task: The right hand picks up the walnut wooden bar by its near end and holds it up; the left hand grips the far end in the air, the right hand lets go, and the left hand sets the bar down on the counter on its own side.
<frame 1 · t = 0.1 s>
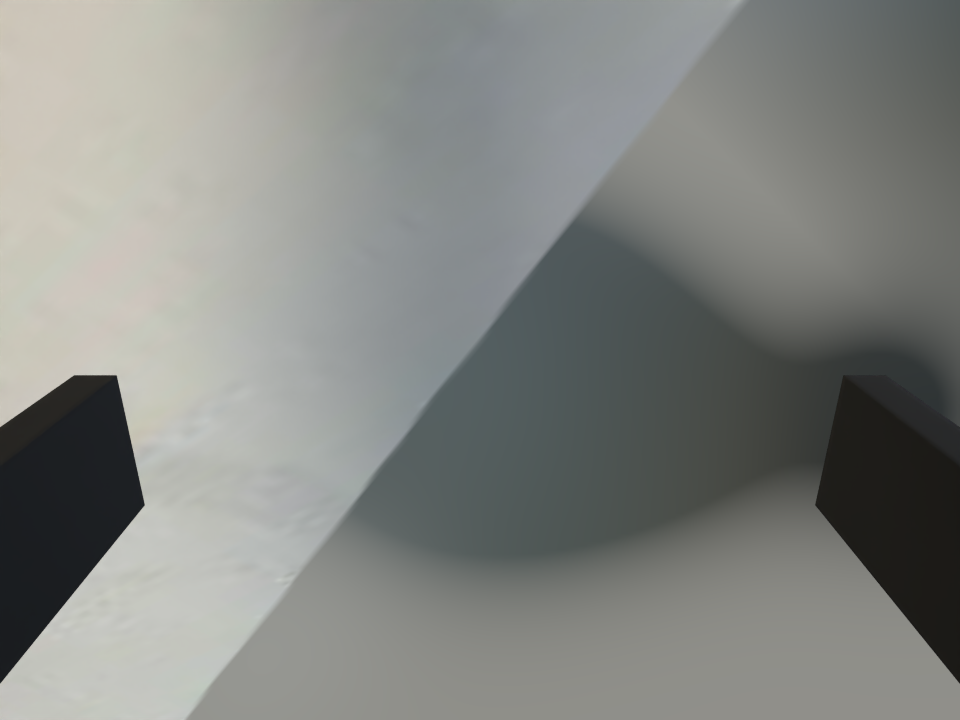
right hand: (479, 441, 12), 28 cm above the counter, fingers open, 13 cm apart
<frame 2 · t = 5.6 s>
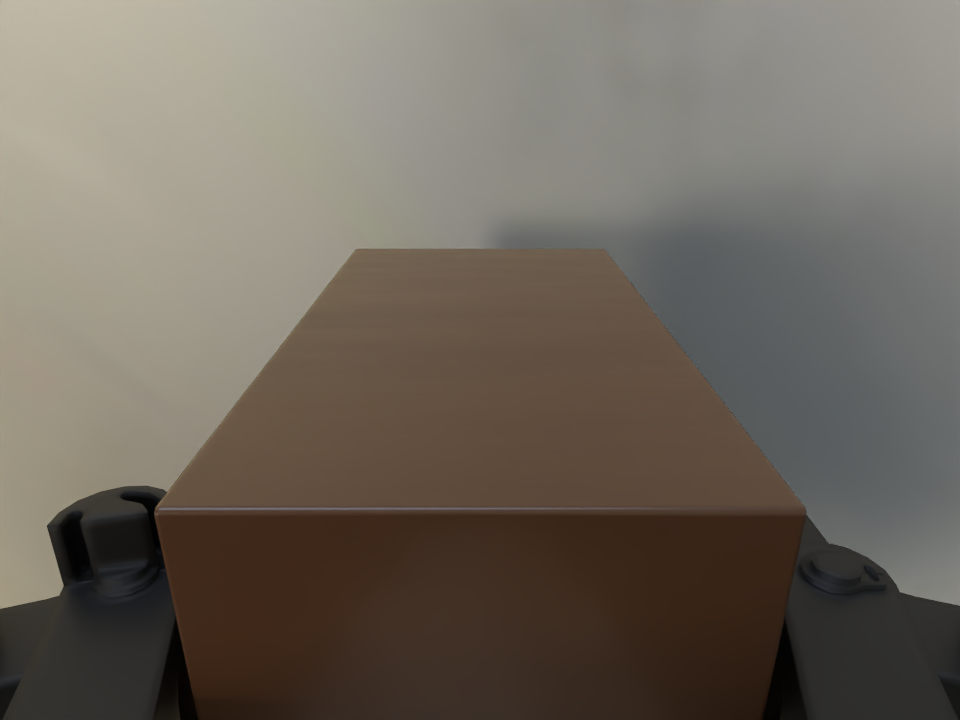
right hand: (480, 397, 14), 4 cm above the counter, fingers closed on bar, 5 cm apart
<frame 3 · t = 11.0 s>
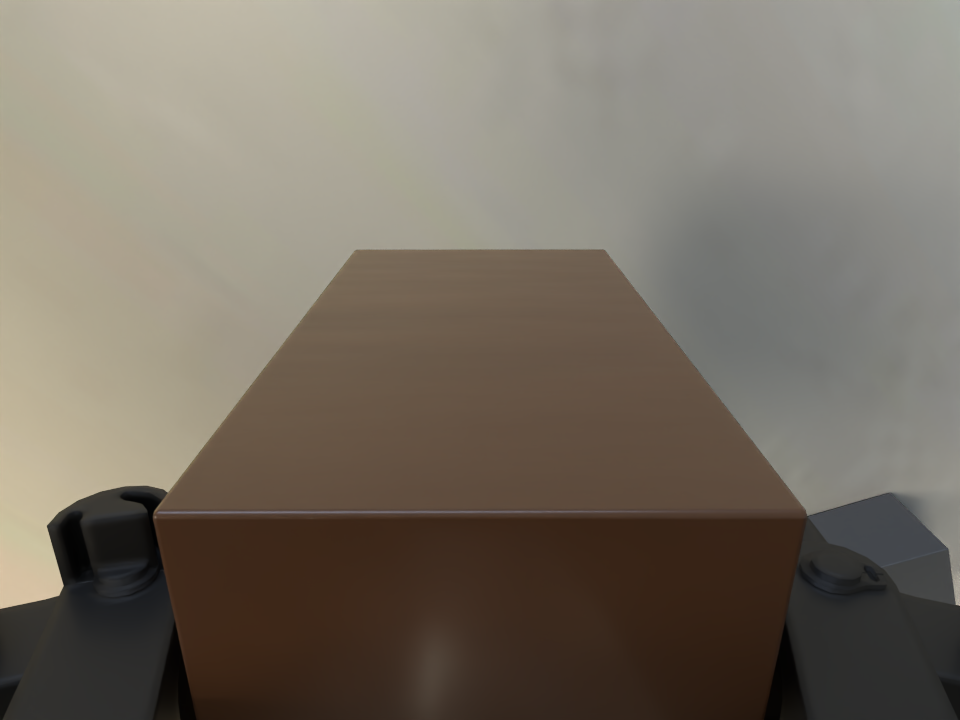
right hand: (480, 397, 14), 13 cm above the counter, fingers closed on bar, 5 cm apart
slate block: (852, 540, 31), on the counter
when the right hand's fingers open (13 cm above the counter, at t = 11.9 s): bar stays where it is, held by the left hand.
when the left hand's fingers open (1 cm above the counter, at t = 21.4 s): bar stays where it is, on the counter.
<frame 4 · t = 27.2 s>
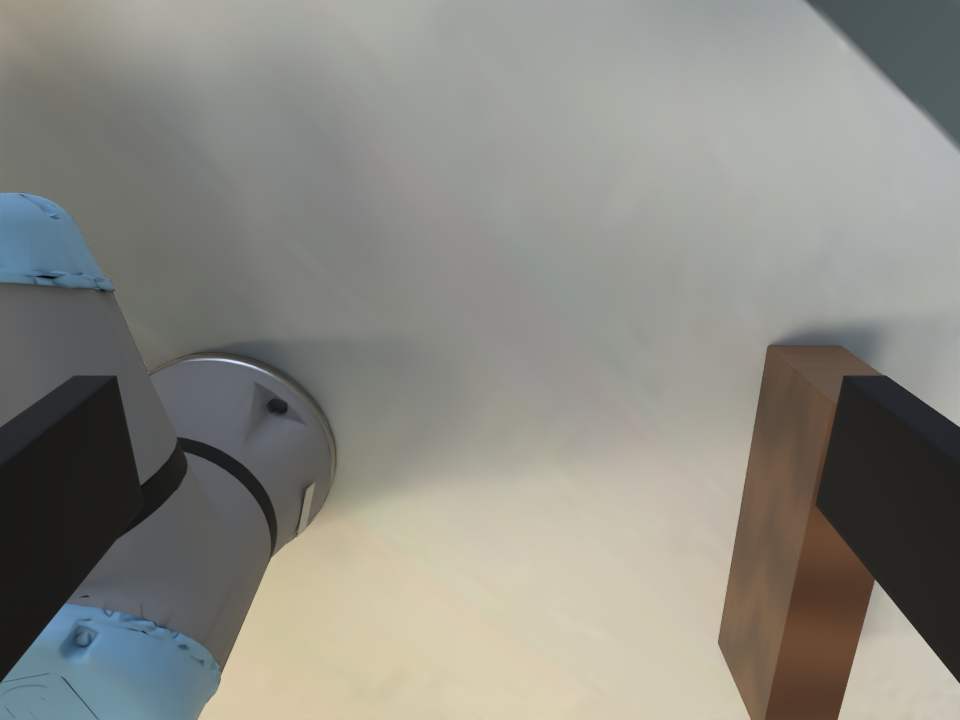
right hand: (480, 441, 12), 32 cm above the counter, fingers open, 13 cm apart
bar: (773, 508, 50), on the counter
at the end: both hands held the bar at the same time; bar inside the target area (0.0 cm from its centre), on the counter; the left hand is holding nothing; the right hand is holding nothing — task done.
